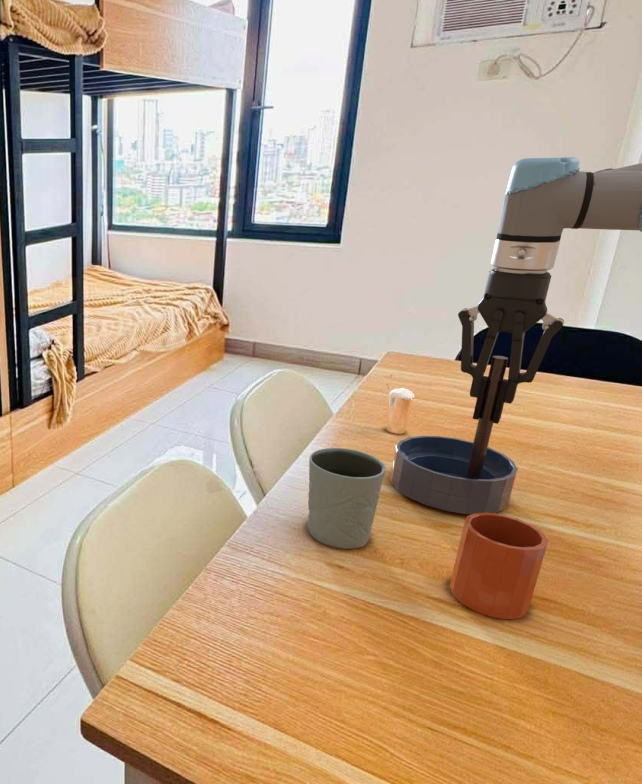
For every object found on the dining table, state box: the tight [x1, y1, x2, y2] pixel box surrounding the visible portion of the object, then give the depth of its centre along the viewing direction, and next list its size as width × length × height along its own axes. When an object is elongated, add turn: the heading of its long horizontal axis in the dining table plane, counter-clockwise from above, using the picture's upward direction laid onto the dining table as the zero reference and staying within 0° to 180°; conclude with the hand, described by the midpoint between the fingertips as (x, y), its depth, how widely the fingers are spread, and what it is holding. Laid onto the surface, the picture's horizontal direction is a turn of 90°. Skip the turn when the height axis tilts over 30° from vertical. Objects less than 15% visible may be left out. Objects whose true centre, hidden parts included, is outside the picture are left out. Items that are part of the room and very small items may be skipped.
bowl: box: [389, 435, 518, 515], centre depth 105 cm, size 17×17×6 cm
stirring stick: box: [466, 355, 509, 479], centre depth 100 cm, size 2×2×22 cm
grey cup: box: [307, 447, 387, 550], centre depth 93 cm, size 10×10×12 cm
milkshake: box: [386, 383, 415, 435], centre depth 129 cm, size 4×5×10 cm
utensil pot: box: [449, 512, 549, 620], centre depth 79 cm, size 8×8×10 cm
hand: (486, 418), depth 99 cm, fingers closed on stirring stick, 2 cm apart
